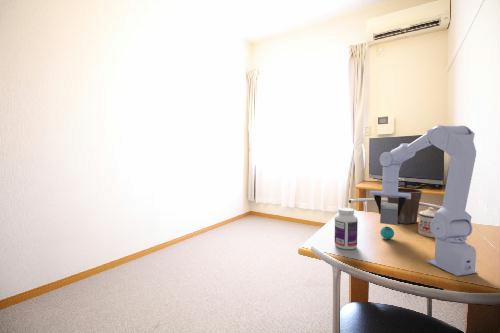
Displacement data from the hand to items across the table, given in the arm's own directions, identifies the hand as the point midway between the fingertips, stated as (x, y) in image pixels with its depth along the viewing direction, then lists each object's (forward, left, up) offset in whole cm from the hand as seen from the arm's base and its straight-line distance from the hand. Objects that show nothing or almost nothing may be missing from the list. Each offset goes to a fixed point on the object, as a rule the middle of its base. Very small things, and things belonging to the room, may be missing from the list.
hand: (389, 214), depth 103 cm
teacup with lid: (-2, -22, -10) cm, 24 cm away
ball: (0, +1, -7) cm, 8 cm away
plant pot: (+19, -27, -10) cm, 34 cm away
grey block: (0, 0, -2) cm, 2 cm away
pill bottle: (-3, +22, -10) cm, 25 cm away
